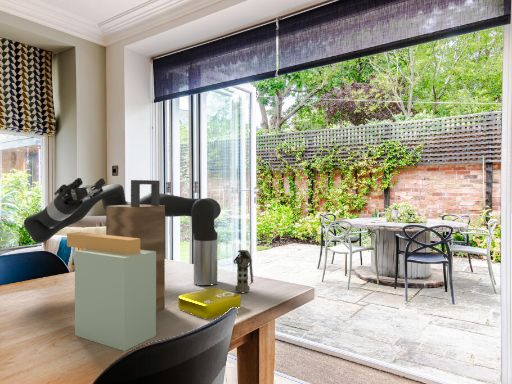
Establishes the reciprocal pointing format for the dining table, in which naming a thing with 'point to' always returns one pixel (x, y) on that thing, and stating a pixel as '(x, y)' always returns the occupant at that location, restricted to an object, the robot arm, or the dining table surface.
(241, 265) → the olive stun grenade
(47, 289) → the dining table surface
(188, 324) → the dining table surface
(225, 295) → the element tile
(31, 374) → the dining table surface
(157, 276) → the walnut post
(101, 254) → the sage green upright block
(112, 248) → the bar
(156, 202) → the dark gray square arch
